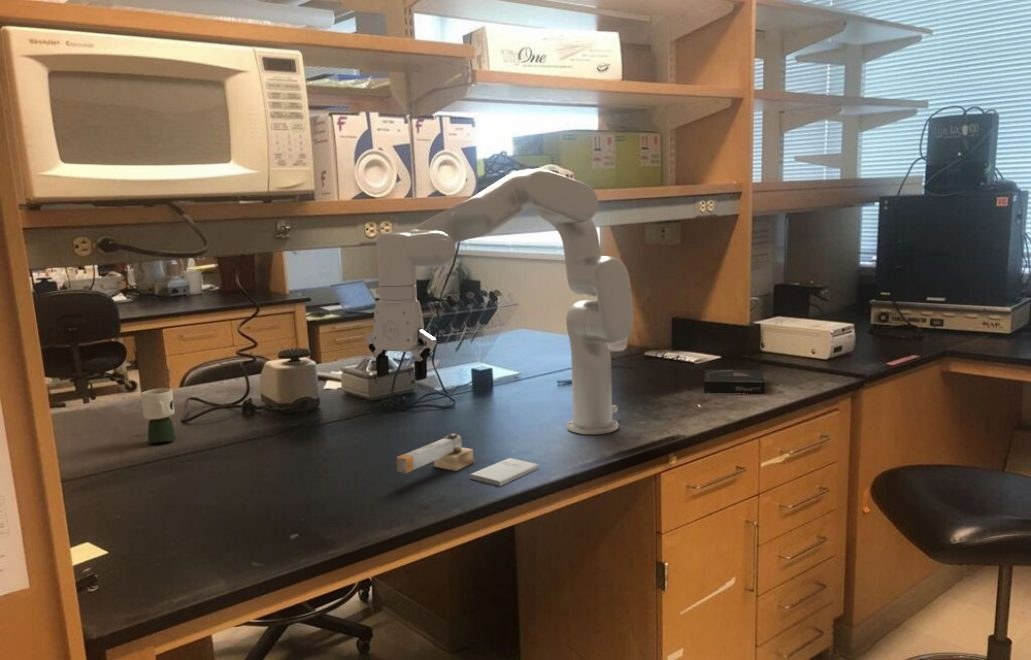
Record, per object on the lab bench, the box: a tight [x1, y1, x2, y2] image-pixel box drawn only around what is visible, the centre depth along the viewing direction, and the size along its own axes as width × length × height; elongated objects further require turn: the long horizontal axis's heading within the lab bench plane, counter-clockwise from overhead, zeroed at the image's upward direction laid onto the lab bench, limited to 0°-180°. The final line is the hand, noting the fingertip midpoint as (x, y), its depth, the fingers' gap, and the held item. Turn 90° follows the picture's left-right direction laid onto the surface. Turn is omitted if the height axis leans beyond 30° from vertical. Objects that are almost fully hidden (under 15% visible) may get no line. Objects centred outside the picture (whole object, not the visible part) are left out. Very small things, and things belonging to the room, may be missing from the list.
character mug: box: [140, 387, 177, 444], centre depth 190 cm, size 11×7×13 cm, turn 34°
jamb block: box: [433, 447, 475, 471], centre depth 165 cm, size 6×6×3 cm
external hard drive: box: [469, 457, 539, 487], centre depth 158 cm, size 2×8×12 cm
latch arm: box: [396, 432, 462, 474], centre depth 158 cm, size 18×4×4 cm, turn 145°
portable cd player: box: [703, 369, 766, 395], centre depth 224 cm, size 16×17×4 cm
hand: (401, 377), depth 156 cm, fingers open, 9 cm apart
